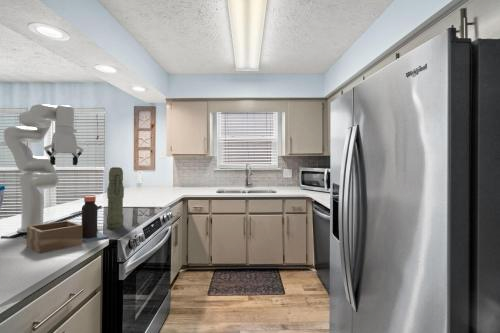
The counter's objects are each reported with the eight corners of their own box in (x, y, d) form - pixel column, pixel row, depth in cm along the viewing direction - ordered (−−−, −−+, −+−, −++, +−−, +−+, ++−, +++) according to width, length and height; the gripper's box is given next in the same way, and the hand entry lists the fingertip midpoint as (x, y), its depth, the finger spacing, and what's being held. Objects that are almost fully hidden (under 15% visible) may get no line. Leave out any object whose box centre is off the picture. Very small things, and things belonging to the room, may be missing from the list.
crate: (26, 246, 124) (27, 226, 123) (67, 238, 137) (67, 220, 137) (39, 253, 115) (40, 231, 115) (82, 244, 128) (82, 225, 128)
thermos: (119, 224, 171) (120, 167, 170) (126, 227, 162) (127, 167, 162) (104, 225, 165) (105, 167, 165) (109, 229, 156) (110, 167, 156)
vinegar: (83, 235, 140) (84, 195, 140) (98, 234, 142) (99, 195, 142) (79, 238, 134) (80, 197, 133) (95, 238, 136) (96, 197, 135)
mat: (74, 238, 138) (74, 236, 138) (95, 234, 147) (95, 232, 147) (85, 242, 131) (85, 240, 131) (107, 238, 140) (107, 236, 140)
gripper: (79, 132, 148) (79, 164, 148) (41, 129, 134) (40, 164, 134) (86, 132, 144) (86, 165, 144) (47, 128, 129) (47, 165, 130)
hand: (64, 164), depth 139 cm, fingers open, 9 cm apart
